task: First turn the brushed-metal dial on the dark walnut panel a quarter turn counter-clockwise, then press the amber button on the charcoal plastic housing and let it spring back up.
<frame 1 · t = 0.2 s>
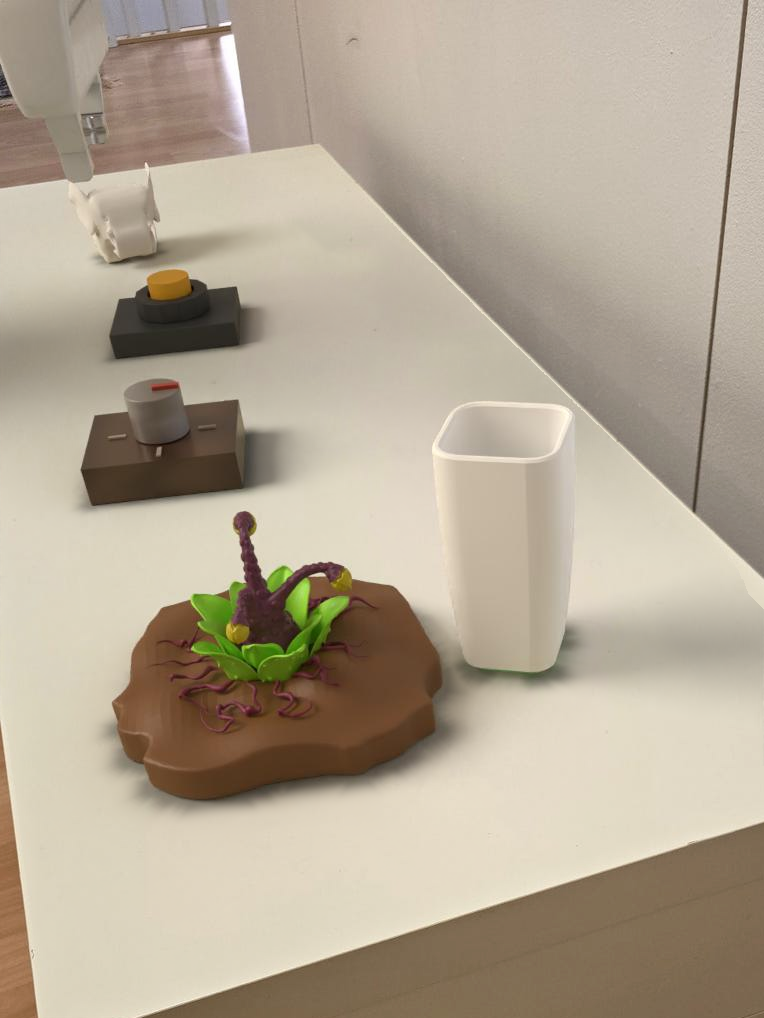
hand: (90, 160, 85), 23 cm above the table, tool pointing down, fingers open, 8 cm apart
dial: (156, 409, 97), point 5 cm above the table, hinge at 0.0°
dial panel: (171, 467, 100), on the table
cup: (515, 654, 78), on the table
button: (169, 285, 119), point 4 cm above the table, slide at 0.1 cm
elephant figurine: (131, 259, 139), on the table
plant: (282, 692, 77), on the table
button housing: (180, 332, 122), on the table
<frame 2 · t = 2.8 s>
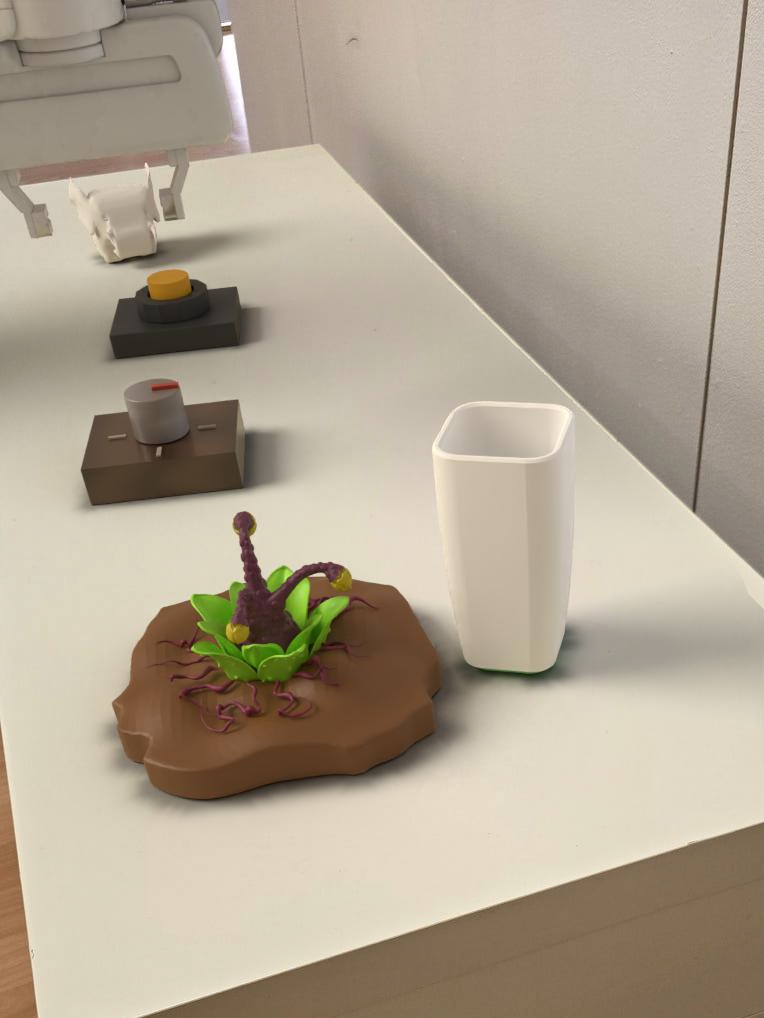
hand: (109, 226, 87), 18 cm above the table, tool pointing down, fingers open, 8 cm apart
nothing on the table moved.
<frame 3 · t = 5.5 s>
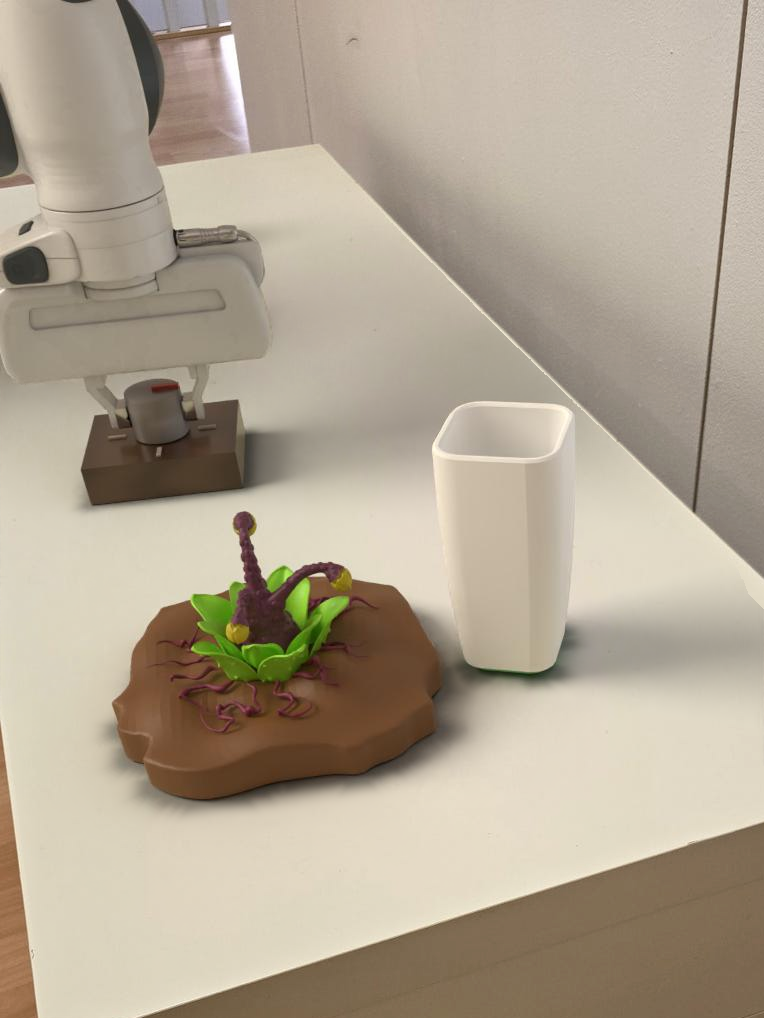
hand: (159, 422, 97), 4 cm above the table, tool pointing down, fingers closed on dial, 4 cm apart
dial: (156, 409, 97), point 5 cm above the table, hinge at -0.4°, touching gripper
everything else where it was.
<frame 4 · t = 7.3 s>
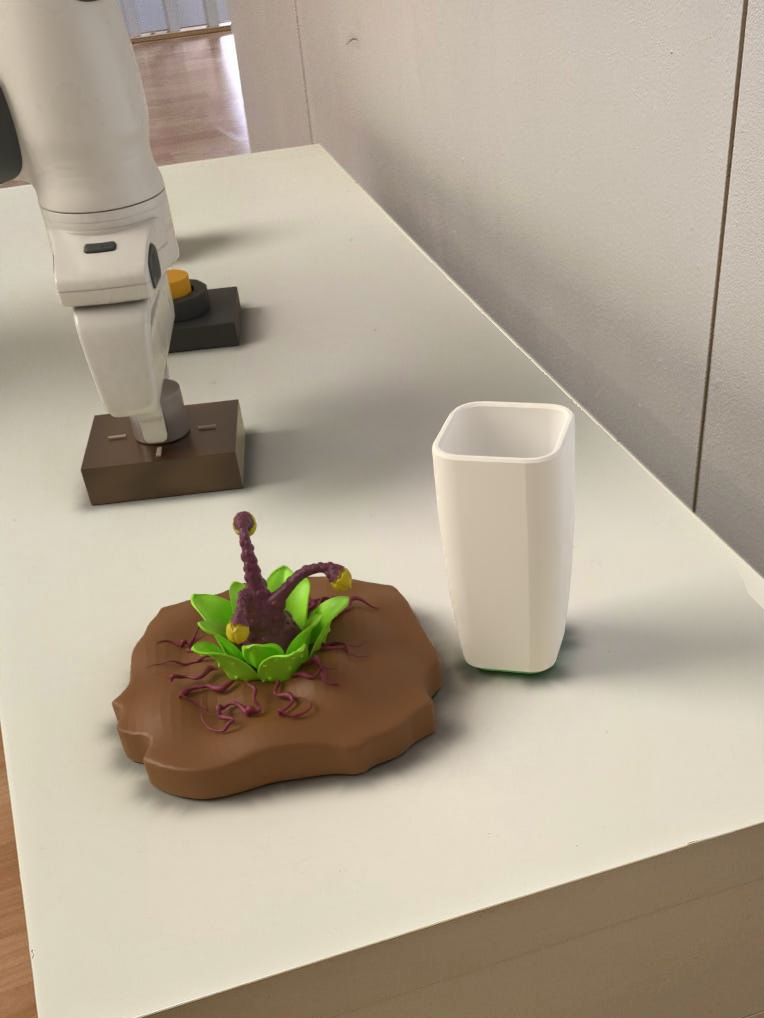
hand: (160, 423, 97), 4 cm above the table, tool pointing down, fingers closed on dial, 4 cm apart
dial: (156, 409, 97), point 5 cm above the table, hinge at 88.7°, touching gripper
everything else where it was.
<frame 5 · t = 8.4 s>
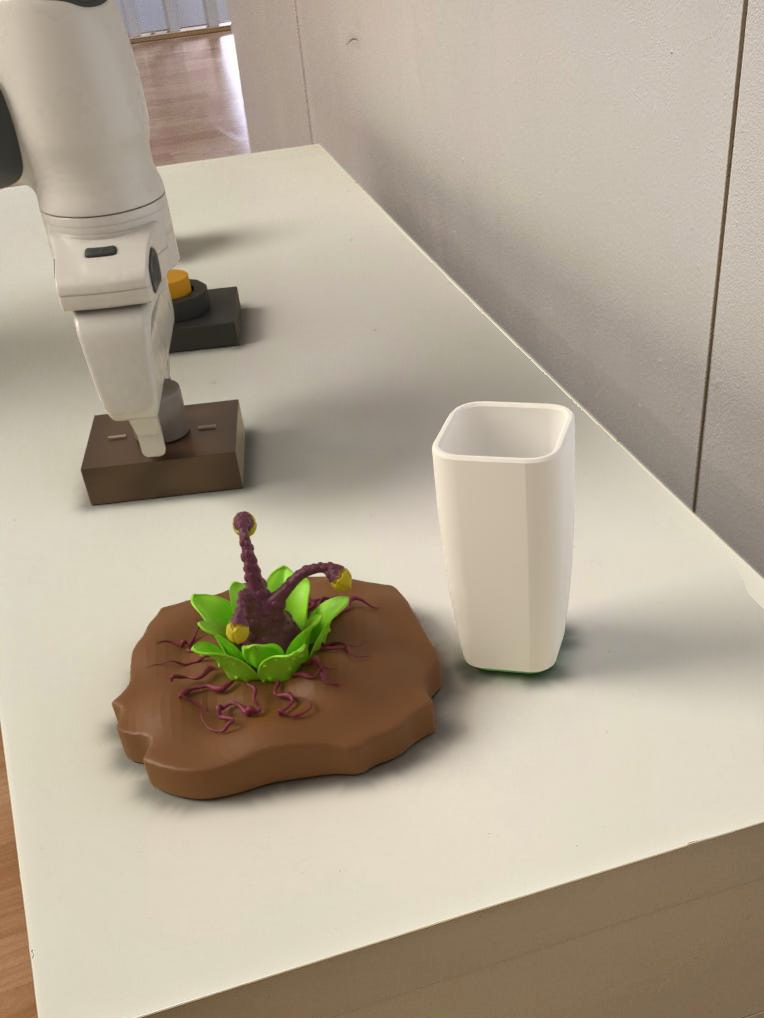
hand: (160, 426, 98), 4 cm above the table, tool pointing down, fingers open, 8 cm apart
dial: (156, 409, 97), point 5 cm above the table, hinge at 87.8°
everything else where it was.
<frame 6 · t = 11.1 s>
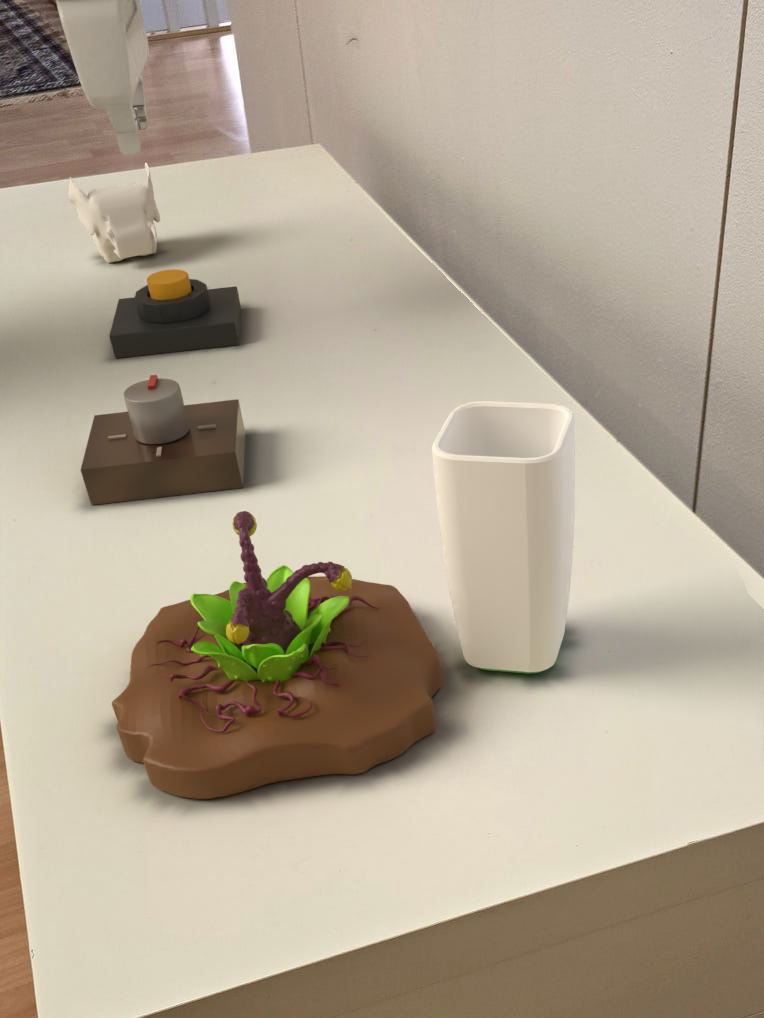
hand: (135, 140, 110), 17 cm above the table, tool pointing down, fingers open, 7 cm apart
nothing on the table moved.
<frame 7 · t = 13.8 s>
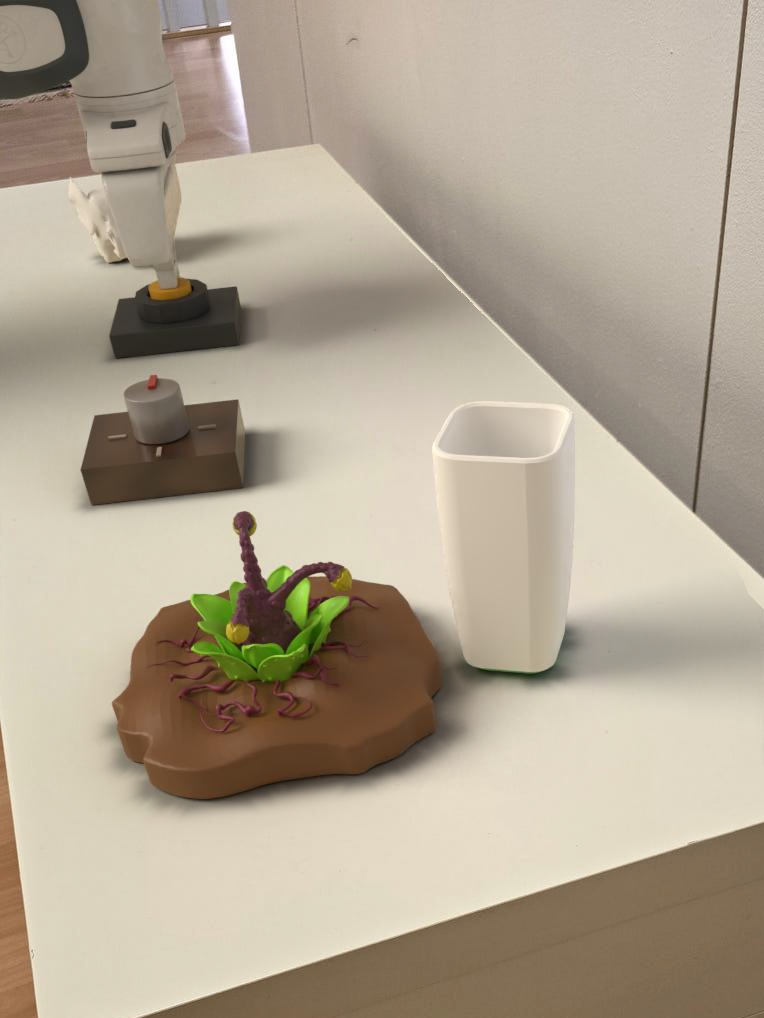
hand: (170, 283, 118), 5 cm above the table, tool pointing down, fingers closed, pressing on button
button: (171, 293, 119), point 4 cm above the table, slide at -0.6 cm, touching gripper
everything else where it was.
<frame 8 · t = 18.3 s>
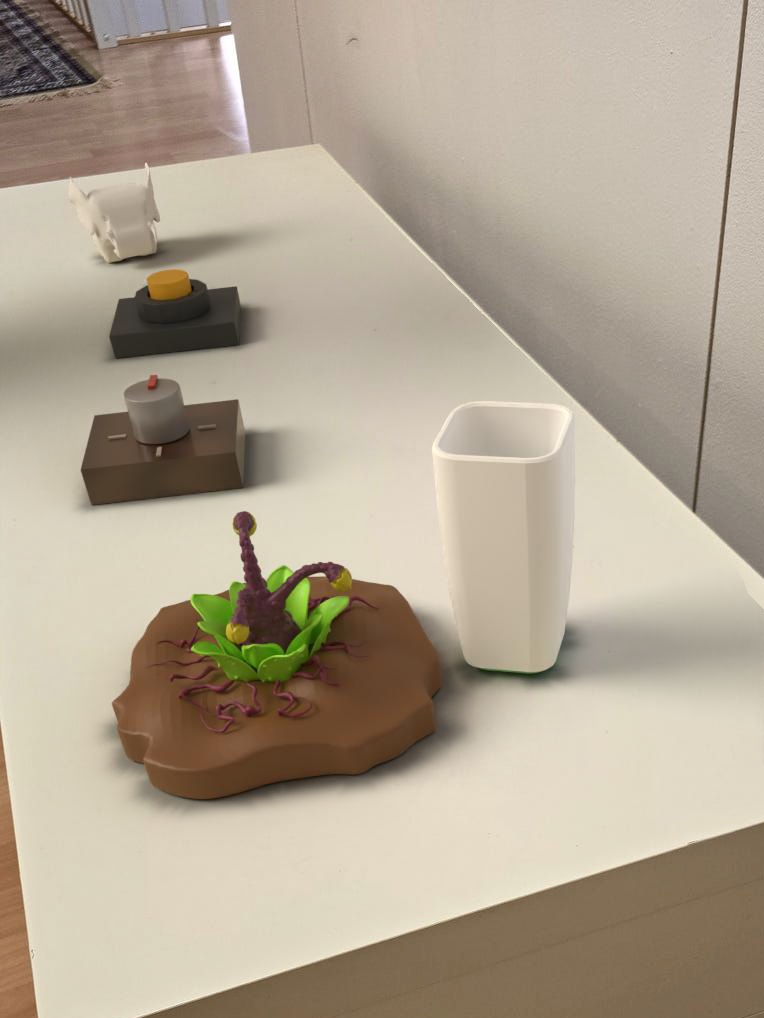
button: (169, 285, 119), point 4 cm above the table, slide at 0.1 cm
everything else where it was.
at the end: dial at +88° (first picture: +0°); button pushed in 1.0 cm at the most during the clip, back to where it started at the end; button slide at 0.1 cm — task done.
